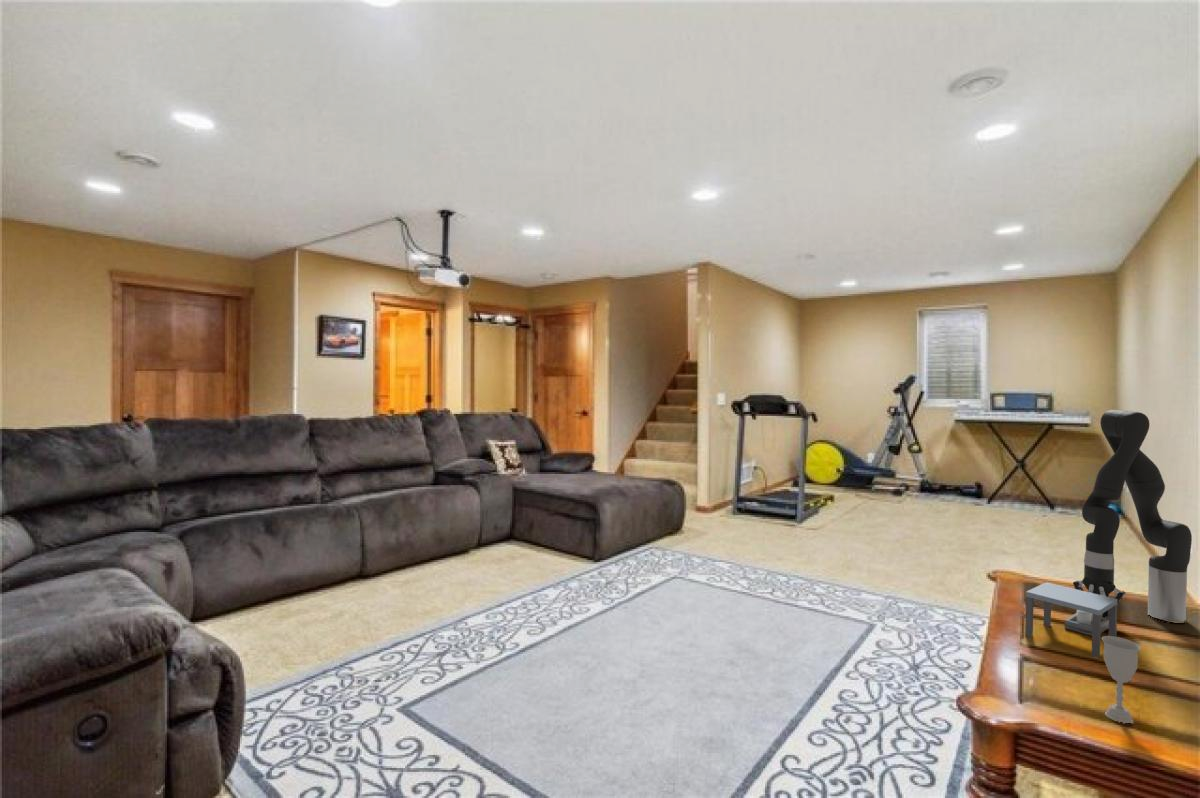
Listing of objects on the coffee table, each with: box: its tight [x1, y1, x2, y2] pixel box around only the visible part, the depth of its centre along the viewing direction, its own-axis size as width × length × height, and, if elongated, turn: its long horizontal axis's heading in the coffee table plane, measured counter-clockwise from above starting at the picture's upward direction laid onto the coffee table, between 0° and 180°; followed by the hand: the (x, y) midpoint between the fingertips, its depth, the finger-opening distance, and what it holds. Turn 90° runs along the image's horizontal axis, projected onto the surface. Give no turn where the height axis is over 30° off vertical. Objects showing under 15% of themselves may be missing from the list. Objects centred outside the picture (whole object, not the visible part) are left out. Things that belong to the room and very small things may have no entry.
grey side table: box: [1024, 581, 1118, 659], centre depth 177 cm, size 16×18×14 cm
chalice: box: [1101, 635, 1142, 725], centre depth 135 cm, size 7×7×18 cm
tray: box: [1064, 610, 1109, 637], centre depth 188 cm, size 18×8×7 cm, turn 123°
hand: (1097, 615), depth 192 cm, fingers closed on tray, 3 cm apart
